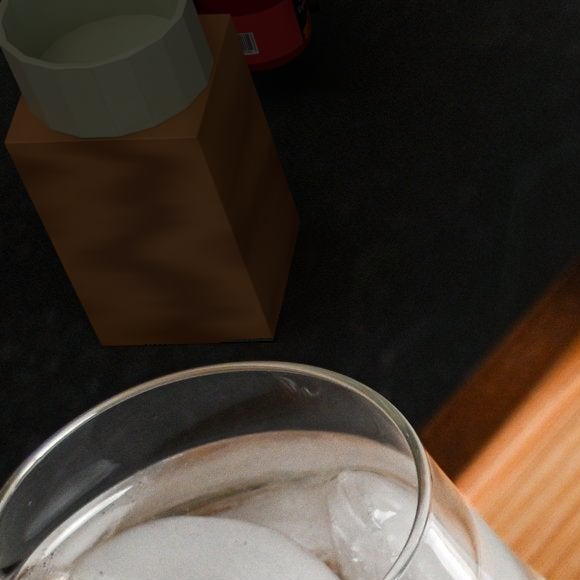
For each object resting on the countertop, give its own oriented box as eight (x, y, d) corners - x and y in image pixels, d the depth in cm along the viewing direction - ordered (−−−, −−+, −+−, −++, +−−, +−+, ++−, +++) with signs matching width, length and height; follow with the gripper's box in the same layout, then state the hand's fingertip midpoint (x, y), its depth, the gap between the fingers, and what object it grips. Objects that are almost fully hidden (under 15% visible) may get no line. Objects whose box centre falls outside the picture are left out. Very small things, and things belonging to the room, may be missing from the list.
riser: (101, 346, 132) (3, 143, 118) (136, 226, 139) (47, 19, 124) (274, 342, 132) (196, 137, 117) (301, 221, 138) (230, 13, 124)
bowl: (7, 140, 118) (-26, 71, 114) (49, 21, 124) (19, -50, 120) (194, 135, 117) (167, 64, 113) (226, 15, 124) (202, -56, 119)
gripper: (299, -330, 138) (397, 0, 143) (5, -267, 135) (116, 68, 140) (294, -372, 130) (397, -24, 136) (-16, -307, 127) (101, 47, 133)
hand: (254, 22), depth 138 cm, fingers closed on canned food, 8 cm apart
